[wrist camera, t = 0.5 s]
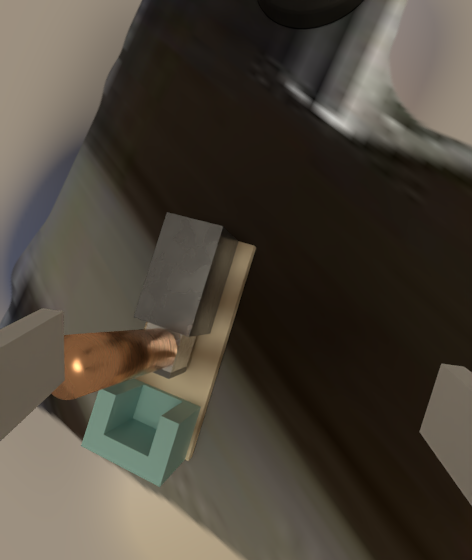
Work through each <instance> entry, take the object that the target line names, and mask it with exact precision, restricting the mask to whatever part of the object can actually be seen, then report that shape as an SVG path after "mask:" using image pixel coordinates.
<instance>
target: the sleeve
mask: <svg viewBox="0 0 472 560" xmlns="http://www.w3.org/2000/svg"><path fill="white" fill-rule="evenodd" d="M238 242H239V241H238V240H237V239H235V238H234V237H233V236H232V235H231V234H230V233H229V232H228V231H227V230H226V229H225V228H224V227H223V226H220V225H216V224H212V223H208V222H204V221H200V220H196V219H192V218H188V217H184V216H180V215H176V214H172V213H168V212H167V214H166V217H165V220H164V223H163V226H162V230H161V233H160V236H159V239H158V242H157V245H156V248H155V251H154V255H153V258H152V261H151V264H150V267H149V270H148V273H147V276H146V280H145V283H144V286H143V289H142V292H141V295H140V298H139V302H138V305H137V308H136V311H135V314H134V317H135V318H138V319H141V320H143V321H146V322H149V323H152V324H154V325H157V326H160V327H163V328H165V329H168V330H171V331H174V332H176V333H179V334H182V335H185V336H187V337H192V336H198V335H204V334H210V333H211V329H212V326H213V323H214V320H215V316H216V313H217V310H218V307H219V303H220V300H221V297H222V294H223V290H224V287H225V284H226V281H227V278H228V274H229V271H230V268H231V265H232V261H233V258H234V255H235V252H236V248H237V245H238Z"/></svg>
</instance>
